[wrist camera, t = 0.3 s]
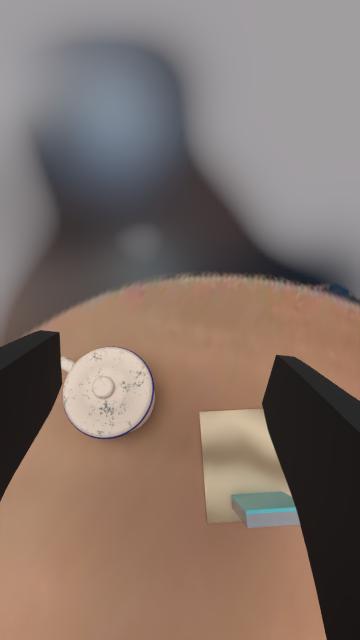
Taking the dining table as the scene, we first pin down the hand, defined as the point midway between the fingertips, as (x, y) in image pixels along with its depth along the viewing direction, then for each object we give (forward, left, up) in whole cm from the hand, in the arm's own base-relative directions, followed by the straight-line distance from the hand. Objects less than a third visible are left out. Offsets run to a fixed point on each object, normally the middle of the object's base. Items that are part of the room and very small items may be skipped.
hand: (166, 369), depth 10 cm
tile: (-10, -10, -29) cm, 32 cm away
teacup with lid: (+3, +7, -30) cm, 31 cm away
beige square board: (-6, -10, -29) cm, 32 cm away
